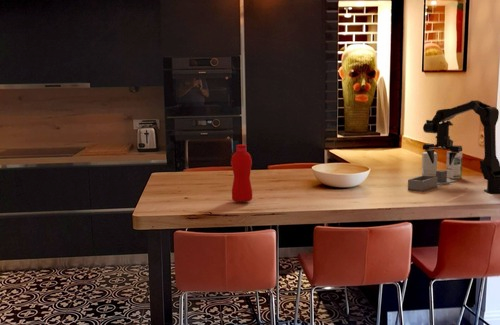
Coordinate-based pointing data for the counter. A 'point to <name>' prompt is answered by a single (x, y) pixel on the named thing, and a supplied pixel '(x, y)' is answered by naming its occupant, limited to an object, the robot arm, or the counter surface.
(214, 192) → the counter surface
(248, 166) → the water bottle
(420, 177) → the tub
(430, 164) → the supplement box
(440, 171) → the lid
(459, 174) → the syrup box
